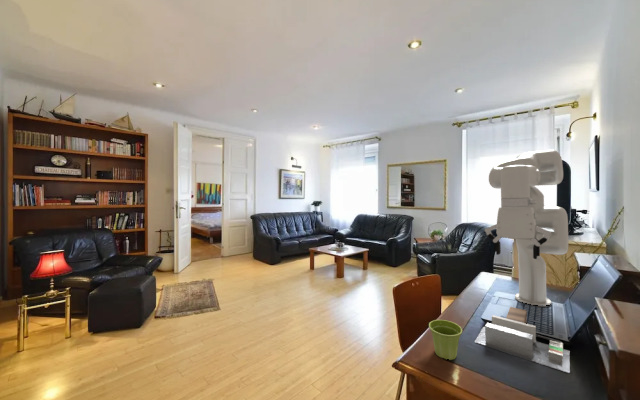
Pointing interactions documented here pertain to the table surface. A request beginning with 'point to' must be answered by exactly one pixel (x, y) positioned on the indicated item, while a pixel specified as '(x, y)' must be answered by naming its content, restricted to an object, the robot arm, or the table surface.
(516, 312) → the walnut bar
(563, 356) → the frame
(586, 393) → the table surface
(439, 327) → the plant pot
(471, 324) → the table surface
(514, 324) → the gauge pad
